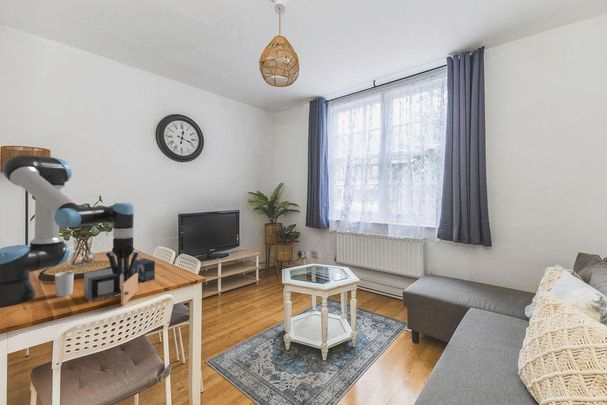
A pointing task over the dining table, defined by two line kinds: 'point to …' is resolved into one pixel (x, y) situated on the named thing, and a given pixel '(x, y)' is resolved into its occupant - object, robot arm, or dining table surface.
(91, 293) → the grey cabinet
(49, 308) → the dining table surface
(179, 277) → the dining table surface
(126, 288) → the side door
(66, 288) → the drinking glass
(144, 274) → the small box
